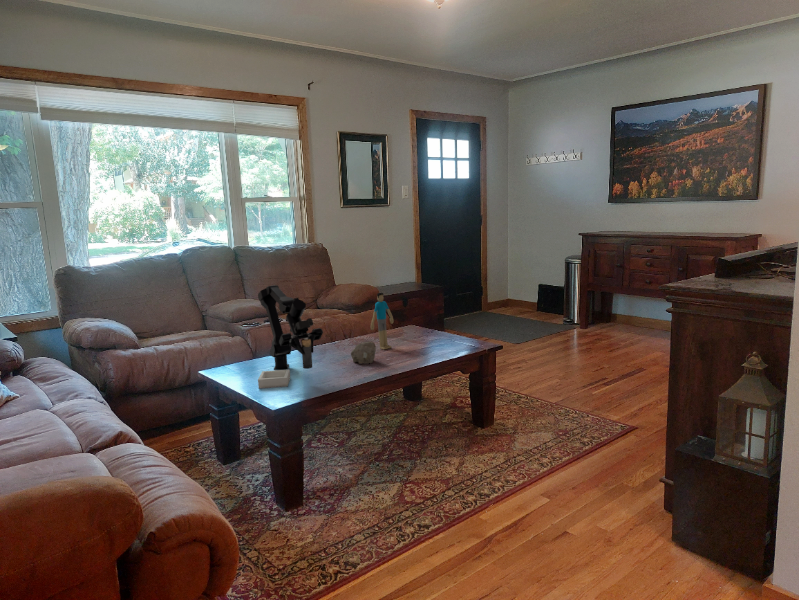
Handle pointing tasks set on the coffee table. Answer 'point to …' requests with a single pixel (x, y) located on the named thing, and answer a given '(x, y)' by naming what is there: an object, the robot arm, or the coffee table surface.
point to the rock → (364, 353)
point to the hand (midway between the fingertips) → (308, 353)
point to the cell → (306, 353)
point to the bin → (274, 379)
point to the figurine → (381, 320)
